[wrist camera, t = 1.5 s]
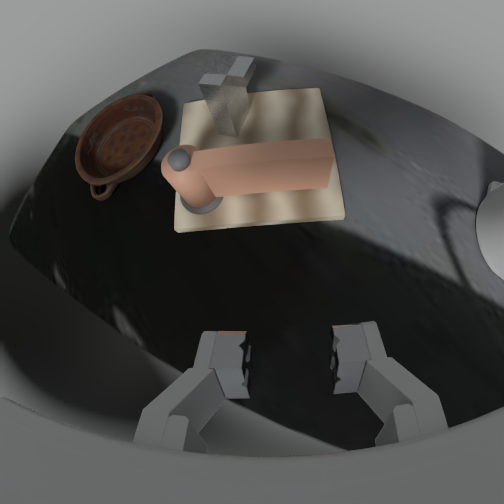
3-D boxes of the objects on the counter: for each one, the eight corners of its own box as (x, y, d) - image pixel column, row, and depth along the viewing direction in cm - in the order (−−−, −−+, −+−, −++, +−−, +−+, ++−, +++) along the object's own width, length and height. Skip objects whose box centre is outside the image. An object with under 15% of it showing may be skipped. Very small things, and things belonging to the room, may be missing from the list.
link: (183, 209, 39) (154, 180, 30) (184, 177, 40) (159, 143, 32) (328, 196, 37) (337, 161, 28) (323, 163, 38) (329, 123, 29)
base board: (319, 93, 44) (319, 86, 42) (343, 219, 38) (345, 214, 36) (186, 108, 46) (183, 102, 44) (178, 232, 41) (173, 228, 39)
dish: (71, 198, 46) (55, 187, 41) (118, 102, 50) (107, 88, 45) (143, 212, 43) (128, 200, 38) (191, 101, 47) (183, 83, 42)
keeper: (250, 140, 41) (237, 87, 30) (219, 134, 42) (198, 83, 31) (263, 111, 42) (254, 57, 31) (233, 106, 43) (217, 54, 32)
